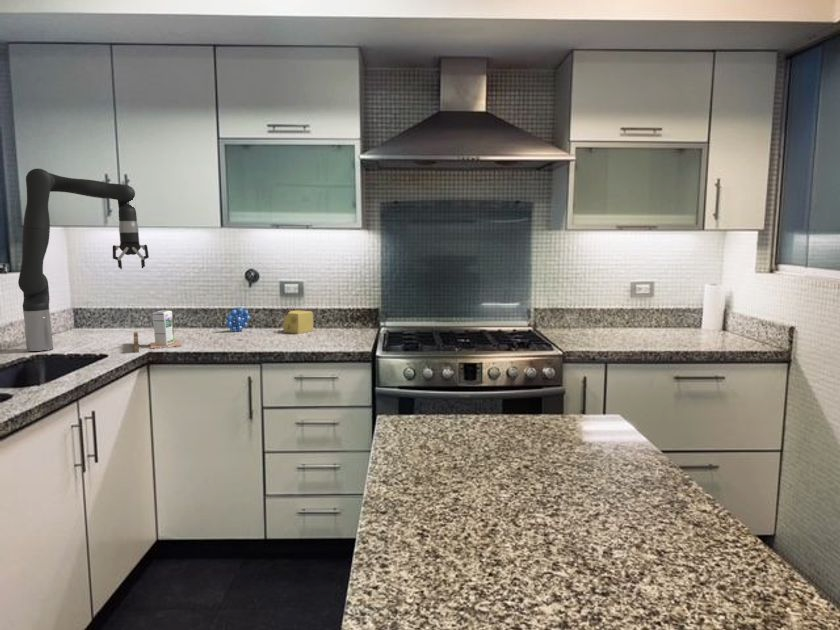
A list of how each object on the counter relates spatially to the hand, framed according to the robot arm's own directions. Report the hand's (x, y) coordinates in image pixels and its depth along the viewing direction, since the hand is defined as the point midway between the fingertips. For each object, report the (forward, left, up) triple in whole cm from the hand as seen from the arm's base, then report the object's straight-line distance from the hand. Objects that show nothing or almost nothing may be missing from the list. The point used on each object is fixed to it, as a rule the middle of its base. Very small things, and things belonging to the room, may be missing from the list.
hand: (131, 268), depth 260 cm
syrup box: (+18, 0, -33) cm, 37 cm away
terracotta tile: (+18, 0, -33) cm, 38 cm away
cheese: (+50, +52, -33) cm, 79 cm away
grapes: (+22, +40, -33) cm, 57 cm away
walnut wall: (+11, -9, -33) cm, 36 cm away
